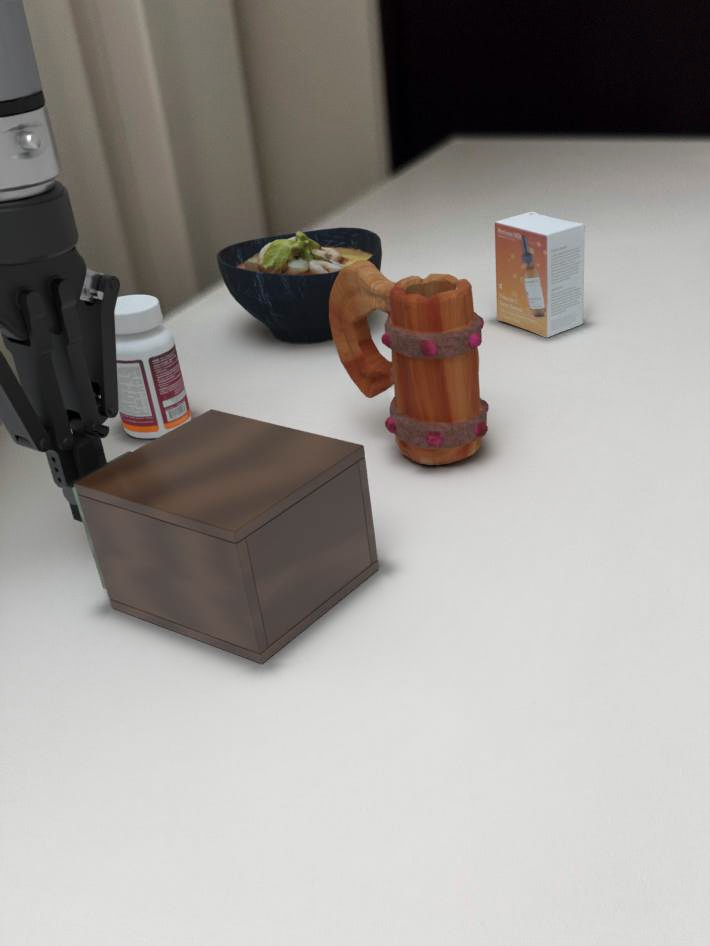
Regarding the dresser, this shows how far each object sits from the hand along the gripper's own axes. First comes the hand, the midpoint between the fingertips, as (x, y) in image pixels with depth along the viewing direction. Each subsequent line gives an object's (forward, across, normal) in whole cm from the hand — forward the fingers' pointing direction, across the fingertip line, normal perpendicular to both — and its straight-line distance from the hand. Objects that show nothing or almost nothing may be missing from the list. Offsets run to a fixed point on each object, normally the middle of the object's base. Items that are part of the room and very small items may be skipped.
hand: (93, 519), depth 79 cm
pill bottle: (+2, +17, +11) cm, 21 cm away
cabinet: (+1, 0, -15) cm, 15 cm away
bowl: (+2, +43, +14) cm, 45 cm away
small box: (+2, +55, -8) cm, 56 cm away
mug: (+2, +24, -13) cm, 27 cm away
